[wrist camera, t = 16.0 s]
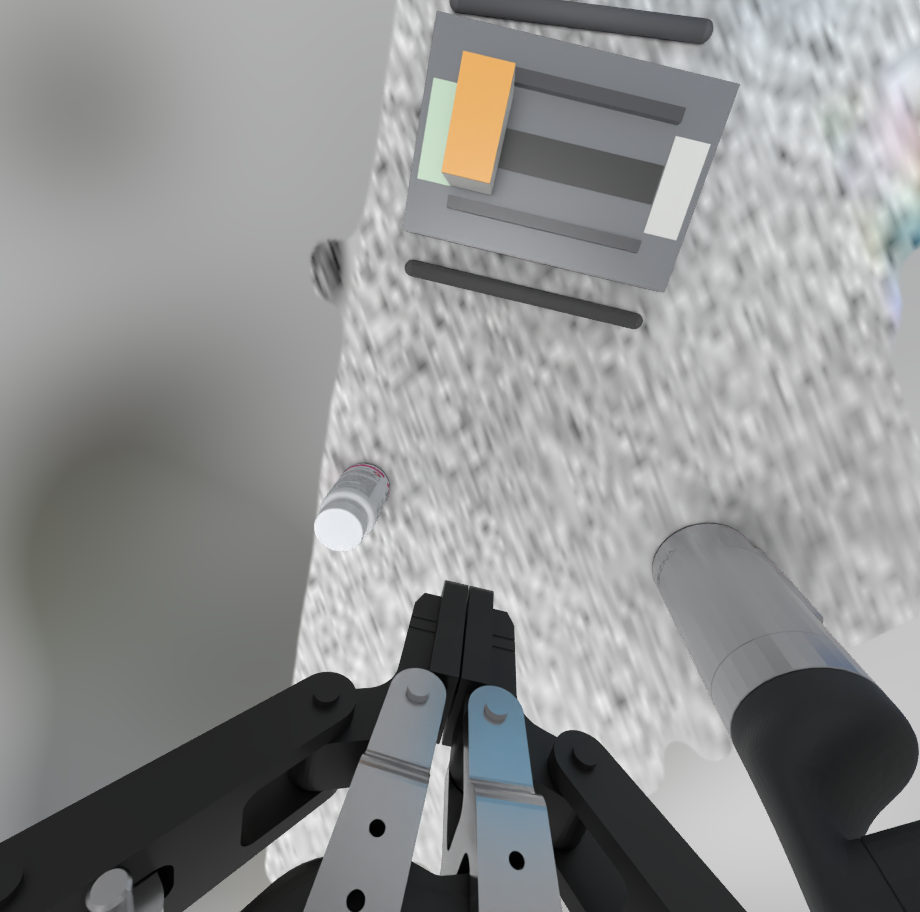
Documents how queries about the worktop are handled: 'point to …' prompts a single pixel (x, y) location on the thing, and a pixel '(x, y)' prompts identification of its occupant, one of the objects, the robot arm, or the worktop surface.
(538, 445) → the worktop surface
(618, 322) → the dark grey rod
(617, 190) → the panel
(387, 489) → the pill bottle
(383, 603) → the worktop surface
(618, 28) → the cord
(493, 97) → the grey orange rectangular block
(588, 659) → the worktop surface
